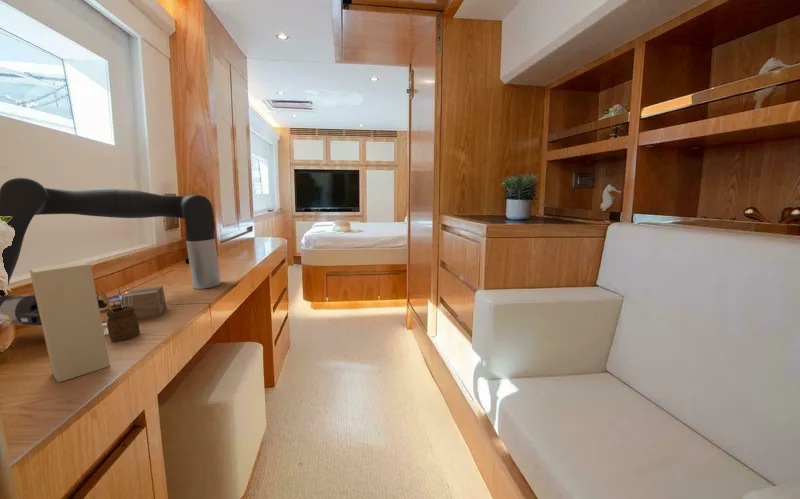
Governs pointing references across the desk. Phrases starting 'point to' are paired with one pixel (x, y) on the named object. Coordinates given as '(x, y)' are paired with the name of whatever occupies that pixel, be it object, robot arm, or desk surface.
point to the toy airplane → (119, 298)
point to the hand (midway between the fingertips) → (88, 309)
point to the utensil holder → (121, 321)
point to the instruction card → (105, 328)
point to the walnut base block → (146, 301)
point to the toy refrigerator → (70, 319)
